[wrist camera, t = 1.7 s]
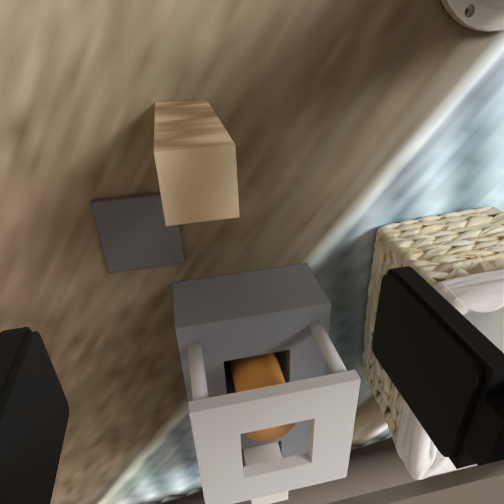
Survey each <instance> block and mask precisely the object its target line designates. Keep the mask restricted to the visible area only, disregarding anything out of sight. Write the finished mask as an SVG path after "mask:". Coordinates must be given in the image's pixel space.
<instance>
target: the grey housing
mask: <svg viewBox="0 0 504 504" xmlns="http://www.w3.org/2000/svg"><path fill="white" fill-rule="evenodd" d="M172 285H173V303H174V320H175V331H176V337H177V343H178V348H179V354H180V359H181V365H182V371H183V376H184V382H185V388H186V393H187V399H188V406H189V416H190V421H191V427H192V432H193V438H194V443H195V449H196V454H197V460H198V466H199V471H200V477H201V482H202V488H203V493H204V499H205V504H235V503H239V502H243V501H247V500H252V499H256V498H260V497H264V496H268V495H273V494H277V493H281V492H285V491H289V490H293V489H298V488H302V487H306V486H311V485H315V484H319V483H323V482H327V481H332V480H335V479H340V478H344V477H346V475H347V469H348V462H349V456H350V449H351V442H352V436H353V429H354V422H355V416H356V409H357V402H358V396H359V389H360V382H361V379H360V377H359V375H358V373H357V372H356V370H351V371H347V369H346V367H345V366H344V364H343V362H342V360H341V358H340V356H339V355H338V353H337V351H336V349H335V347H334V345H333V344H332V342H331V340H330V338H329V328H330V316H331V304H332V303H331V301H330V300H329V298H328V297H327V295H326V293H325V292H324V290H323V288H322V287H321V285H320V284H319V282H318V280H317V279H316V277H315V276H314V274H313V272H312V271H311V269H310V268H309V266H308V264H307V263H304V264H297V265H290V266H283V267H276V268H270V269H263V270H256V271H249V272H242V273H235V274H228V275H221V276H214V277H207V278H200V279H194V280H187V281H180V282H173V283H172ZM274 352H275V354H276V357H277V360H278V363H279V365H280V368H281V371H282V374H283V377H284V379H285V382H286V383H283V384H278V385H273V386H267V387H262V388H257V389H252V390H247V391H241V392H236V390H235V386H234V381H233V376H232V372H231V367H230V362H229V360H235V359H240V358H246V357H251V356H257V355H263V354H268V353H274ZM326 364H327V365H328V367H329V369H330V371H331V373H332V374H330V375H326ZM295 422H296V424H295V426H294V427H293V428H292V429H291V430H290V431H289V432H288V433H287V434H285V435H283V436H282V437H279V438H277V439H274V440H269V441H257V440H253V439H251V438H249V437H248V436H247V435H246V434H245V433H247V432H252V431H257V430H262V429H266V428H271V427H276V426H281V425H286V424H290V423H295ZM275 442H278V444H279V448H280V451H281V455H282V458H281V459H276V460H272V461H267V462H263V463H258V464H254V465H249V466H245V467H244V464H243V458H242V449H247V448H252V447H256V446H261V445H266V444H270V443H275Z"/></svg>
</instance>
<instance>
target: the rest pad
mask: <svg viewBox="0 0 504 504" xmlns="http://www.w3.org/2000/svg"><path fill="white" fill-rule="evenodd" d="M91 206H92V210H93V214H94V218H95V221H96V225H97V229H98V233H99V237H100V240H101V244H102V248H103V252H104V255H105V259H106V263H107V267H108V271H109V273H111V272H118V271H125V270H133V269H140V268H147V267H154V266H162V265H169V264H176V263H184V262H185V260H184V253H183V246H182V239H181V232H180V226H179V225H171V226H166V223H165V217H164V211H163V205H162V199H161V193H156V194H147V195H138V196H129V197H120V198H111V199H101V200H92V201H91Z"/></svg>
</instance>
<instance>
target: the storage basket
mask: <svg viewBox="0 0 504 504" xmlns="http://www.w3.org/2000/svg"><path fill="white" fill-rule="evenodd" d="M374 248H375V250H374V252H373V263H372V267H371V277H370V278H371V280H370V283H369V286H368V292H367V293H368V302H367V305H366V314H365V315H366V321H365V323H364V333H365V334H364V336H365V337H364V349H363V350H362V351H363V354H362V359H363V364H362V365H363V372H364V374H365V375H366V377H367V380H368V382H369V383H370V386H371V389H372V393H373V395H374V397H375V400H376V402H377V403H378V405H379V406H380V410H381V412H382V414H383V415H384V419H385V421H386V423H387V424H388V427H389V430H390V432H391V434H392V435H393V440H394V443H395V445H396V449H397V452H398V455H399V456H400V458H401V459H402V460H403V461H404V464H405V466H406V468H407V469H408V471H409V473H410V475H411V476H412V478H414V479H417V480H421V479H425V478H427V477H429V476H432V475H438V474H442V473H446V472H450V471H454V470H458V469H456V467H455V466H454V465H453V463H452V462H451V460H450V459H449V457H444V456H443V455H442V454H441V453H440V452H439V451H438V449H437V448H436V446H435V445H434V443H433V442H432V440H431V439H430V437H429V436H428V434H427V433H426V431H425V430H424V428H423V427H422V425H421V424H420V423H419V421H418V420H417V418H416V417H415V415H414V414H413V412H412V411H411V409H410V408H409V406H408V405H407V403H406V402H405V400H404V399H403V397H402V396H401V394H400V393H399V391H398V390H397V388H396V387H395V385H394V384H393V382H392V381H391V379H390V378H389V376H388V375H387V373H386V372H385V370H384V369H383V367H382V366H381V365H380V363H379V362H378V360H377V359H376V357H375V355H374V353H373V350H372V339H373V332H374V326H375V319H376V313H377V306H378V300H379V293H380V287H381V280H382V277H383V275H386V274H387V271H388V270H389V269H392V268H399V267H405V266H410V267H412V268H413V269H414V270H415V271H416V272H417V273H418V274H419V275H420V276H421V277H423V278H424V279H425V280H426V281H427V282H428V283H429V284H430V285H431V286H432V287H433V288H434V289H435V290H436V291H438V292H439V293H440V294H441V295H442V296H443V297H444V298H445V299H446V300H447V301H448V302H449V303H450V304H451V305H453V306H454V307H455V308H456V309H457V310H458V311H459V312H460V313H461V314H462V315H463V316H464V317H465V318H466V319H468V320H469V321H470V322H471V323H472V324H473V325H474V326H475V327H476V328H477V329H478V330H479V331H480V332H481V333H482V334H484V335H485V336H486V337H487V338H488V339H489V340H490V341H491V342H492V343H493V344H494V345H495V346H496V347H497V348H499V349H500V350H501V351H502V352H503V353H504V212H502V211H501V210H499V209H496V208H494V207H481V208H476V209H467V210H463V211H459V212H450V213H445V214H442V215H440V216H437V215H432V216H425V217H422V218H419V219H417V220H406V221H401V222H399V223H392V224H387V225H384V226H381V227H380V228H379V229H378V230H377V234H376V242H375V244H374ZM475 465H477V464H475ZM471 466H473V465H471ZM467 467H469V466H467ZM463 468H466V467H463ZM459 469H462V468H459Z"/></svg>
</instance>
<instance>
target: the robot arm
mask: <svg viewBox="0 0 504 504" xmlns="http://www.w3.org/2000/svg"><path fill="white" fill-rule="evenodd" d="M441 2H442V4H443V6H444V8H445V9H446V11H447V12H448V13H449V14H450V15H451V17H452V18H453V19H454V20H455V21H457V22H458V23H460V24H461V25H462V26H464V27H467V28H469V29H472V30H475V31H487V32H490V31H502V30H504V0H441ZM372 350H373V353H374V355H375V357H376V359H377V360H378V362H379V363H380V365H381V366H382V367H383V369H384V370H385V372H386V373H387V375H388V376H389V378H390V379H391V381H392V382H393V384H394V385H395V387H396V388H397V390H398V391H399V393H400V394H401V396H402V397H403V399H404V400H405V402H406V403H407V405H408V406H409V408H410V409H411V411H412V412H413V414H414V415H415V417H416V418H417V420H418V421H419V423H420V424H421V425H422V427H423V428H424V430H425V431H426V433H427V434H428V436H429V437H430V439H431V440H432V442H433V443H434V445H435V446H436V448H437V449H438V451H439V452H440V453H441V454H442V455H443V456H444V457H449V459H450V460H451V462H452V463H453V465H454V466H455V467H456V469H459V468H463V467H467V466H471V465H475V464H477V465H478V466H476V467H471V468H467V469H463V470H458V471H454V472H450V473H445V474H441V475H438V476H434V477H430V478H426V479H422V480H418V481H414V482H410V483H406V484H403V485H398V486H394V487H391V488H387V489H382V490H379V491H375V492H371V493H367V494H363V495H359V496H355V497H351V498H347V499H343V500H339V501H335V502H332V503H328V504H504V353H503V352H502V351H501V350H500V349H499V348H497V347H496V346H495V345H494V344H493V343H492V342H491V341H490V340H489V339H488V338H487V337H486V336H485V335H484V334H482V333H481V332H480V331H479V330H478V329H477V328H476V327H475V326H474V325H473V324H472V323H471V322H470V321H469V320H468V319H466V318H465V317H464V316H463V315H462V314H461V313H460V312H459V311H458V310H457V309H456V308H455V307H454V306H453V305H451V304H450V303H449V302H448V301H447V300H446V299H445V298H444V297H443V296H442V295H441V294H440V293H439V292H438V291H436V290H435V289H434V288H433V287H432V286H431V285H430V284H429V283H428V282H427V281H426V280H425V279H424V278H423V277H421V276H420V275H419V274H418V273H417V272H416V271H415V270H414V269H413V268H412V267H410V266H405V267H399V268H392V269H389V270H388V271H387V274H386V275H383V277H382V280H381V287H380V293H379V300H378V306H377V313H376V319H375V326H374V332H373V339H372ZM68 416H69V407H68V402H67V400H66V397H65V395H64V392H63V390H62V387H61V385H60V382H59V380H58V377H57V375H56V372H55V370H54V367H53V365H52V363H51V360H50V358H49V355H48V353H47V350H46V348H45V345H44V343H43V340H42V338H41V336H40V334H39V332H37V331H35V332H32V331H31V329H30V328H29V327H23V328H17V329H11V330H5V331H2V332H1V333H0V504H50V501H51V497H52V492H53V487H54V483H55V478H56V473H57V469H58V464H59V459H60V454H61V450H62V445H63V440H64V436H65V431H66V426H67V422H68Z"/></svg>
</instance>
